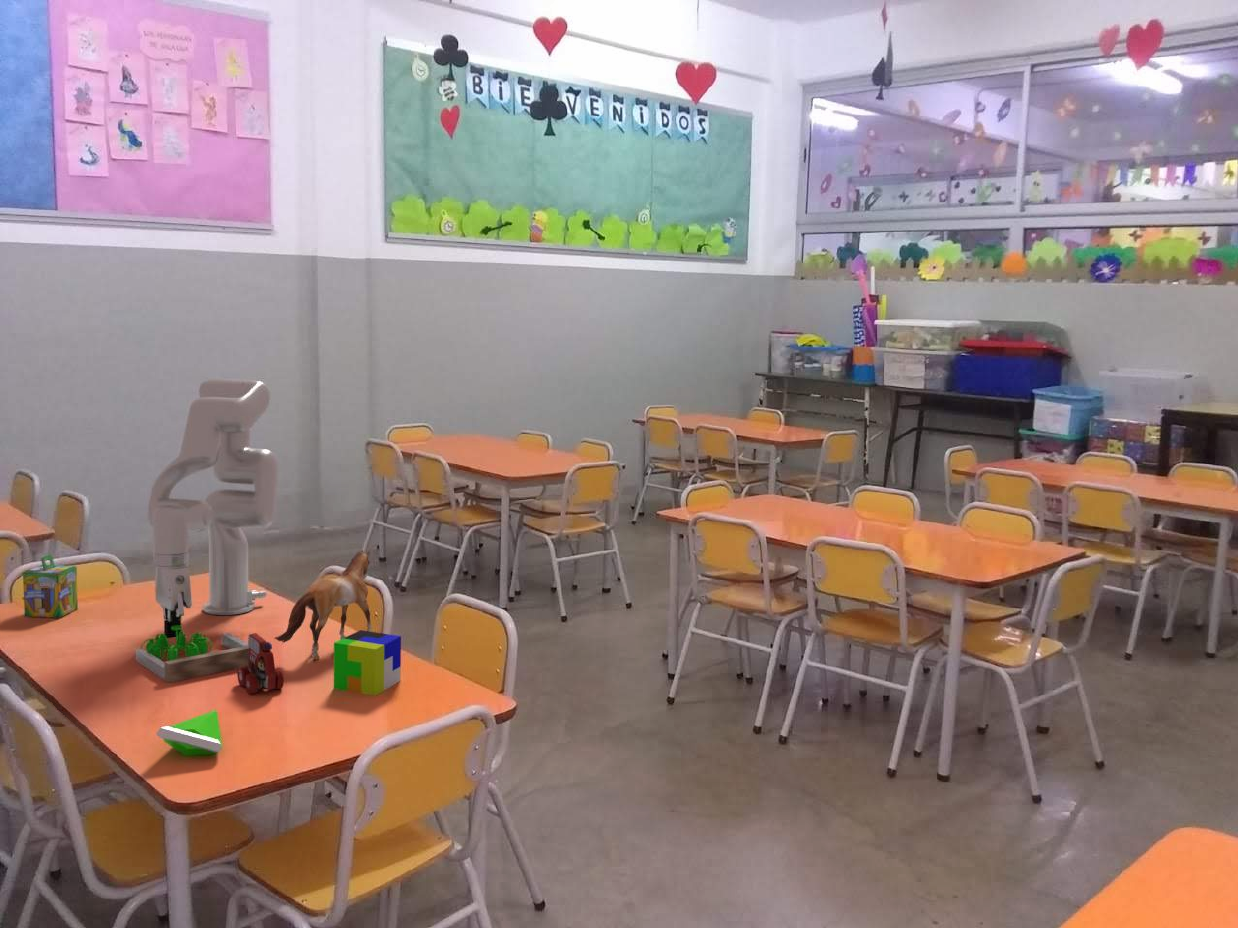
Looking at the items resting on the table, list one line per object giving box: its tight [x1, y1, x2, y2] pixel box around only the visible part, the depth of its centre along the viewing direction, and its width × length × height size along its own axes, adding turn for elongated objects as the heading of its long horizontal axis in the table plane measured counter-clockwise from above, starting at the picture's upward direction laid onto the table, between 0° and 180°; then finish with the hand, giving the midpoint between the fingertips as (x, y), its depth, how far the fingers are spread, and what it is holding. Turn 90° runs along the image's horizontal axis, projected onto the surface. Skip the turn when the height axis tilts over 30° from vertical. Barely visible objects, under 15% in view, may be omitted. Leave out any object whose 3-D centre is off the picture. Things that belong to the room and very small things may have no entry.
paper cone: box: [155, 709, 223, 757], centre depth 194 cm, size 11×5×25 cm
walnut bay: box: [135, 632, 249, 683], centre depth 232 cm, size 21×18×4 cm
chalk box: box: [22, 553, 79, 619], centre depth 263 cm, size 9×9×15 cm
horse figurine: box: [273, 550, 372, 660], centre depth 245 cm, size 31×8×21 cm, turn 155°
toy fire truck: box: [236, 632, 285, 695], centre depth 218 cm, size 7×12×10 cm, turn 37°
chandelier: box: [140, 625, 214, 661], centre depth 236 cm, size 15×15×7 cm
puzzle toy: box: [333, 629, 402, 697], centre depth 222 cm, size 10×10×10 cm
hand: (172, 636), depth 243 cm, fingers closed
